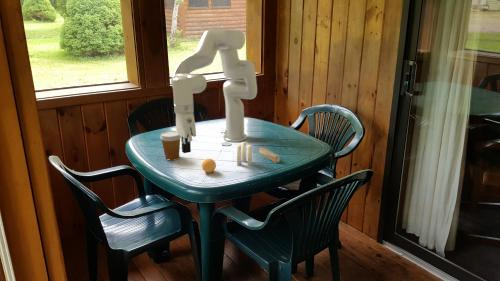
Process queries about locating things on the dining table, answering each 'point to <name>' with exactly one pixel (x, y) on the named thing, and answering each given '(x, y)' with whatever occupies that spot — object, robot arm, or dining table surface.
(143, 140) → the dining table surface
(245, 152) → the back left pin
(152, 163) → the dining table surface
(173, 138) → the disposable coffee cup
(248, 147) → the back right pin
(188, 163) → the dining table surface
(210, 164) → the ball
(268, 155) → the back wall
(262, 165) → the dining table surface
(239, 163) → the front pin
